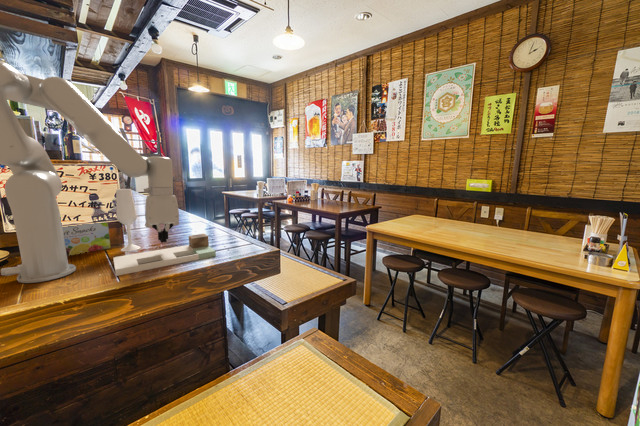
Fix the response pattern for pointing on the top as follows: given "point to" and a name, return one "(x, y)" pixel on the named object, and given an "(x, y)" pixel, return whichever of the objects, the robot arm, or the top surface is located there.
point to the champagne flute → (126, 214)
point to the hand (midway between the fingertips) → (163, 241)
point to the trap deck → (160, 258)
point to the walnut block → (198, 241)
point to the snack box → (86, 238)
